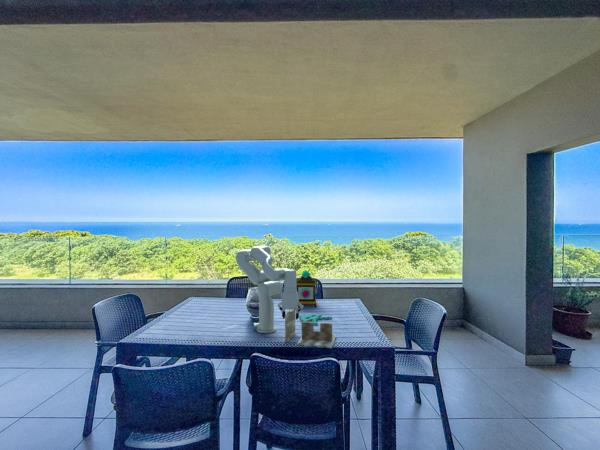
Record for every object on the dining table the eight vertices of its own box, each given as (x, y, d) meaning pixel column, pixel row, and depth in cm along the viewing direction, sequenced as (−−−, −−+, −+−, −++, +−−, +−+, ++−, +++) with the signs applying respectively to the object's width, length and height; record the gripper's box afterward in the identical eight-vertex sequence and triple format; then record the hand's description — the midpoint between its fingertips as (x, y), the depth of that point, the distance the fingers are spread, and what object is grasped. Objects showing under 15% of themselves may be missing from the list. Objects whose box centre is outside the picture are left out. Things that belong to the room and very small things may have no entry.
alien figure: (332, 319, 237) (310, 315, 249) (332, 316, 237) (310, 312, 249) (315, 326, 221) (293, 321, 234) (315, 323, 221) (293, 318, 234)
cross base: (297, 345, 185) (297, 325, 185) (304, 334, 203) (304, 316, 203) (331, 348, 181) (331, 328, 181) (335, 337, 198) (335, 319, 198)
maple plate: (285, 342, 190) (285, 315, 190) (292, 333, 206) (292, 308, 206) (288, 342, 190) (288, 315, 190) (295, 333, 205) (295, 308, 205)
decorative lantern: (295, 302, 288) (295, 268, 288) (317, 302, 287) (317, 268, 287) (293, 308, 268) (293, 272, 268) (317, 308, 267) (317, 272, 267)
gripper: (274, 290, 196) (275, 319, 196) (302, 291, 192) (302, 321, 192) (278, 288, 204) (278, 316, 204) (305, 289, 200) (305, 317, 200)
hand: (290, 318), depth 198 cm, fingers open, 7 cm apart
